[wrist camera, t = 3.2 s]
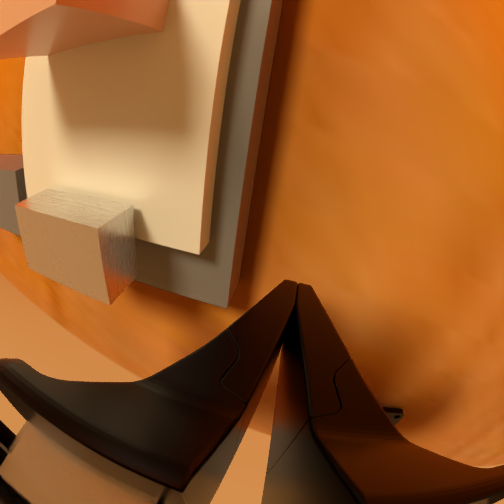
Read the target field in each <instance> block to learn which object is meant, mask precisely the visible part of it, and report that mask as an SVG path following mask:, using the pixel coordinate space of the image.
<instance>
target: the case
mask: <svg viewBox="0 0 504 504" xmlns="http://www.w3.org/2000/svg"><path fill="white" fill-rule="evenodd" d="M282 5H283V0H241V2H240V7H239V12H238V18H237V23H236V29H235V35H234V40H233V46H232V53H231V59H230V65H229V72H228V78H227V85H226V92H225V99H224V107H223V114H222V122H221V130H220V138H219V147H218V155H217V164H216V173H215V183H214V193H213V203H212V214H211V226H210V238H209V243H208V244H207V246H206V247H205V248H204V249H203V251H202V252H201V253H200V255H198V254H194V253H190V252H186V251H182V250H179V249H175V248H171V247H167V246H163V245H159V244H156V243H152V242H148V241H144V240H140V239H137V238H135V247H136V260H137V271H138V276H137V277H136V278H135V279H134V280H135V281H138V282H141V283H144V284H147V285H150V286H153V287H156V288H159V289H162V290H165V291H169V292H172V293H175V294H178V295H182V296H185V297H188V298H192V299H195V300H199V301H202V302H205V303H209V304H212V305H216V306H220V307H223V308H227V307H228V305H229V303H230V301H231V299H232V297H233V295H234V292H235V290H236V288H237V286H238V284H239V279H240V272H241V266H242V259H243V252H244V245H245V238H246V232H247V225H248V218H249V212H250V205H251V198H252V192H253V185H254V179H255V172H256V166H257V159H258V153H259V146H260V140H261V134H262V127H263V121H264V115H265V108H266V102H267V96H268V90H269V83H270V77H271V71H272V65H273V59H274V53H275V47H276V41H277V35H278V29H279V23H280V17H281V11H282ZM25 199H27V193H26V185H25V176H24V165H23V155H18V154H0V228H2V229H5V230H7V231H9V232H12V233H14V234H16V235H19V236H21V235H20V230H19V226H18V221H17V216H16V210H15V205H16V204H18V203H19V202H21V201H23V200H25Z"/></svg>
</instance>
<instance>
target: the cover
mask: <svg viewBox="0 0 504 504" xmlns="http://www.w3.org/2000/svg"><path fill="white" fill-rule="evenodd" d="M240 2H241V0H0V59H6V58H16V57H26V60H25V69H24V79H23V93H22V151H23V165H24V176H25V185H26V193H27V198H29V197H31V196H33V195H35V194H37V193H39V192H41V191H43V190H45V189H47V188H49V189H54V190H59V191H65V192H70V193H75V194H80V195H85V196H90V197H96V198H101V199H106V200H111V201H116V202H120V203H125V204H130V205H133V207H134V231H135V238H137V239H140V240H144V241H148V242H152V243H156V244H159V245H163V246H167V247H171V248H175V249H179V250H182V251H186V252H190V253H194V254H198V255H200V253H201V252H202V251H203V249H204V248H205V247H206V246H207V244H208V243H209V238H210V226H211V214H212V203H213V193H214V183H215V173H216V164H217V155H218V147H219V138H220V130H221V122H222V114H223V107H224V99H225V92H226V85H227V78H228V72H229V65H230V59H231V53H232V46H233V40H234V35H235V29H236V23H237V18H238V12H239V7H240Z"/></svg>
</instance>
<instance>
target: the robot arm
mask: <svg viewBox="0 0 504 504" xmlns="http://www.w3.org/2000/svg"><path fill="white" fill-rule="evenodd" d="M281 347H282V349H281ZM280 350H281V357H280V367H279V377H278V386H277V395H276V403H275V411H274V420H273V428H272V435H271V443H270V450H269V457H268V465H267V472H266V477H265V484H264V490H263V497H262V503H261V504H493V503H495V502H497V501H499V500H501V499H503V498H504V465H501V466H497V467H494V468H477V467H472V466H469V465H466V464H463V463H460V462H457V461H454V460H452V459H449V458H446V457H444V456H441V455H439V454H436V453H434V452H431V451H429V450H426V449H424V448H421V447H419V446H417V445H415V444H413V443H411V442H409V441H408V440H407V439H405V438H404V437H403V436H402V435H401V434H400V433H399V431H398V430H397V429H396V427H395V426H394V425H395V424H396V423H397V422H398V421H399V420H400V419H401V418H402V417H403V416H404V415H403V410H402V409H393V408H382V407H381V405H380V404H379V403H378V401H377V400H376V398H375V397H374V395H373V394H372V392H371V391H370V389H369V388H368V386H367V384H366V383H365V381H364V380H363V378H362V376H361V374H360V373H359V371H358V369H357V367H356V365H355V364H354V362H353V360H352V359H351V356H350V355H349V353H348V351H347V349H346V347H345V345H344V343H343V342H342V340H341V338H340V336H339V334H338V333H337V331H336V329H335V327H334V325H333V323H332V322H331V320H330V318H329V316H328V314H327V313H326V311H325V309H324V307H323V306H322V304H321V302H320V300H319V298H318V297H317V295H316V293H315V291H314V290H313V288H312V286H310V285H307V284H303V283H299V284H297V282H294V281H290V280H284V281H283V282H281V283H280V284H279V285H278V286H277V287H276V288H274V289H273V290H272V291H271V292H270V293H269V294H267V295H266V296H265V297H264V298H263V299H262V300H260V301H259V302H258V303H257V304H256V305H254V306H253V307H252V308H251V309H250V310H248V311H247V312H246V313H245V314H244V315H242V316H241V317H240V318H239V319H238V320H236V321H235V322H234V323H233V324H231V325H230V326H229V327H228V328H227V329H226V330H224V331H223V332H221V333H220V334H219V335H218V336H217V337H215V338H214V339H213V340H211V341H210V342H208V343H207V344H206V345H204V346H203V347H201V348H200V349H198V350H196V351H195V352H193V353H191V354H190V355H188V356H186V357H185V358H183V359H181V360H179V361H178V362H176V363H174V364H172V365H171V366H169V367H167V368H165V369H163V370H162V371H160V372H158V373H156V374H154V375H152V376H150V377H148V378H145V379H143V380H139V381H135V382H83V381H66V380H59V379H55V378H51V377H48V376H45V375H43V374H41V373H39V372H38V371H36V370H35V369H33V368H32V367H31V366H29V365H28V364H26V363H25V362H24V361H22V360H20V359H7V358H5V359H4V358H3V359H0V391H1V392H2V393H3V394H4V396H5V397H6V398H7V399H8V400H9V402H10V403H11V404H12V405H13V406H14V407H15V408H16V410H17V411H18V412H19V413H20V414H21V415H22V416H23V417H24V418H25V419H26V420H27V421H26V423H25V424H24V425H23V427H22V428H21V430H20V431H19V433H18V434H17V436H16V435H15V434H14V433H13V432H12V431H11V430H10V429H9V428H8V427H6V425H5V424H4V423H2V421H1V420H0V504H210V502H211V500H212V499H213V497H214V495H215V493H216V491H217V489H218V487H219V485H220V483H221V481H222V479H223V477H224V475H225V474H226V471H227V469H228V467H229V465H230V463H231V461H232V459H233V457H234V455H235V453H236V451H237V449H238V447H239V445H240V443H241V441H242V438H243V436H244V434H245V432H246V430H247V428H248V426H249V423H250V421H251V419H252V417H253V414H254V412H255V410H256V408H257V405H258V403H259V401H260V399H261V396H262V394H263V392H264V389H265V387H266V385H267V382H268V380H269V377H270V375H271V373H272V370H273V368H274V365H275V363H276V360H277V358H278V356H279V353H280Z"/></svg>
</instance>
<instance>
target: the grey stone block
mask: <svg viewBox="0 0 504 504" xmlns="http://www.w3.org/2000/svg"><path fill="white" fill-rule="evenodd" d="M15 210H16V216H17V221H18V226H19V230H20V235H21V239H22V243H23V247H24V251H25V255H26V259H27V262H28V266H29V268H30V269H32V270H34V271H36V272H38V273H40V274H42V275H44V276H46V277H48V278H50V279H52V280H54V281H56V282H58V283H60V284H62V285H65V286H67V287H69V288H71V289H73V290H75V291H78V292H80V293H82V294H84V295H87V296H89V297H91V298H94V299H96V300H98V301H101V302H103V303H106V304H108V305H111V304H112V303H113V302H114V301H115V299H116V298H117V297H118V296H119V295H120V294H121V293H122V292H123V291H124V290H125V289H126V288H127V287H128V286H129V284H130V283H131V282H132V281H133V280H134V279H135V278H136V277H137V276H138V271H137V260H136V247H135V231H134V207H133V205H130V204H125V203H120V202H116V201H111V200H106V199H101V198H96V197H90V196H85V195H80V194H75V193H70V192H65V191H59V190H54V189H49V188H47V189H45V190H43V191H41V192H39V193H37V194H35V195H33V196H31V197H29V198H27V199H25V200H23V201H21V202H19V203H18V204H16V205H15Z"/></svg>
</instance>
